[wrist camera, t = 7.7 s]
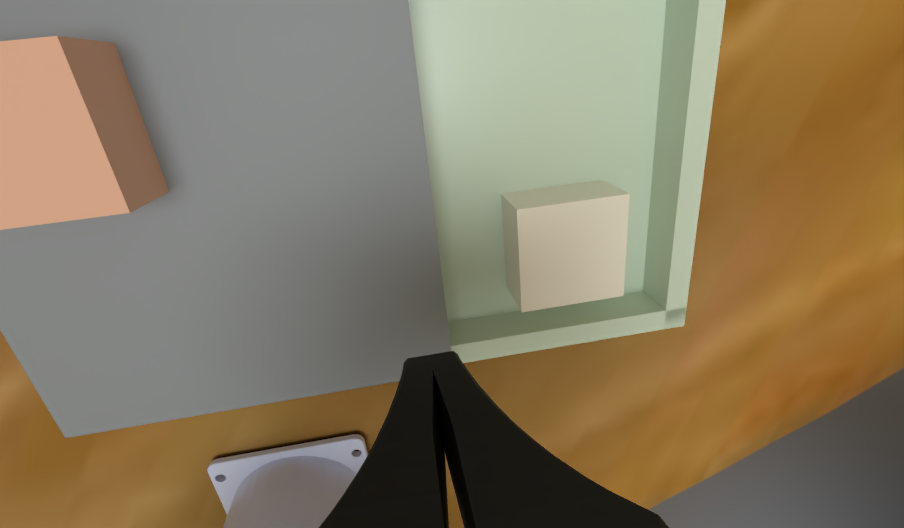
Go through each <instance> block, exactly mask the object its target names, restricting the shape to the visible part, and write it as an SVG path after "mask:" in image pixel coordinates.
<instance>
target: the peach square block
mask: <svg viewBox="0 0 904 528" xmlns="http://www.w3.org/2000/svg"><path fill="white" fill-rule="evenodd" d="M168 192H169V190H168V187H167V184H166V181H165V179H164V176H163V173H162V171H161V168H160V165H159V162H158V160H157V157H156V154H155V152H154V149H153V146H152V143H151V141H150V138H149V135H148V132H147V130H146V127H145V124H144V122H143V119H142V116H141V113H140V111H139V108H138V105H137V103H136V100H135V97H134V94H133V92H132V89H131V86H130V84H129V81H128V78H127V75H126V73H125V70H124V67H123V65H122V62H121V59H120V56H119V54H118V51H117V48H116V46H115V43H113V42H104V41H96V40H88V39H79V38H71V37H63V36H50V37H39V38H29V39H19V40H9V41H0V230H4V229H11V228H19V227H27V226H34V225H42V224H49V223H57V222H65V221H72V220H80V219H87V218H95V217H103V216H110V215H118V214H125V213H131V212H133V211H134V210H136V209H138V208H140V207H142V206H144V205H146V204H148V203H149V202H151V201H153V200H155V199H157V198H159V197H161V196H162V195H164V194H166V193H168Z"/></svg>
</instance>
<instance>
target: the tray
mask: <svg viewBox="0 0 904 528" xmlns="http://www.w3.org/2000/svg"><path fill="white" fill-rule="evenodd" d="M408 3H409V11H410V19H411V27H412V36H413V44H414V52H415V60H416V68H417V76H418V84H419V93H420V101H421V109H422V117H423V125H424V133H425V141H426V149H427V158H428V166H429V174H430V182H431V190H432V198H433V206H434V214H435V223H436V231H437V239H438V247H439V255H440V263H441V271H442V280H443V288H444V296H445V304H446V312H447V320H448V328H449V336H450V345H451V351H454V352H456V353H457V354H458V356H459V358H460V359H461V361H462V363H467V362H473V361H479V360H485V359H491V358H496V357H502V356H508V355H514V354H520V353H526V352H532V351H538V350H544V349H550V348H556V347H562V346H567V345H573V344H579V343H585V342H591V341H597V340H603V339H609V338H615V337H621V336H627V335H633V334H638V333H644V332H650V331H656V330H662V329H668V328H674V327H680V326H684V323H685V315H686V307H687V299H688V292H689V284H690V276H691V268H692V261H693V253H694V245H695V237H696V230H697V222H698V214H699V206H700V198H701V191H702V183H703V175H704V167H705V160H706V152H707V144H708V136H709V129H710V121H711V113H712V105H713V97H714V90H715V82H716V74H717V66H718V59H719V51H720V43H721V35H722V28H723V20H724V12H725V4H726V0H408ZM597 180H602V181H604V182H607V183H609V184H611V185H613V186H615V187H617V188H619V189H621V190H623V191H625V192H627V193H629V194H630V198H629V215H628V231H627V248H626V265H625V282H624V296H620V297H614V298H608V299H602V300H596V301H589V302H583V303H577V304H571V305H565V306H559V307H553V308H546V309H540V310H534V311H528V312H521V311H520V309H519V307H518V305H517V304H516V302H515V300H514V298H513V297H512V295H511V293H510V291H509V290H508V288H507V282H506V265H505V249H504V232H503V216H502V199H501V194H504V193H511V192H518V191H525V190H532V189H539V188H547V187H554V186H561V185H568V184H575V183H583V182H590V181H597Z"/></svg>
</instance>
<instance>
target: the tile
mask: <svg viewBox="0 0 904 528" xmlns="http://www.w3.org/2000/svg"><path fill="white" fill-rule="evenodd" d="M629 198H630V194H629V193H627V192H625V191H623V190H621V189H619V188H617V187H615V186H613V185H611V184H609V183H607V182H604V181H602V180H597V181H590V182H583V183H575V184H568V185H561V186H554V187H547V188H539V189H532V190H525V191H518V192H511V193H504V194H501V199H502V216H503V232H504V249H505V265H506V282H507V288H508V290H509V291H510V293H511V295H512V297H513V298H514V300H515V302H516V304H517V305H518V307H519V309H520V311H521V312H528V311H534V310H540V309H546V308H553V307H559V306H565V305H571V304H577V303H583V302H589V301H596V300H602V299H608V298H614V297H620V296H624V282H625V265H626V248H627V231H628V215H629Z"/></svg>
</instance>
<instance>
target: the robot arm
mask: <svg viewBox="0 0 904 528" xmlns="http://www.w3.org/2000/svg"><path fill="white" fill-rule="evenodd" d="M354 450H360V451H354ZM445 455H446V458H447V462H448V466H449V470H450V474H451V478H452V482H453V485H454V489H455V493H456V497H457V501H458V504H459V508H460V512H461V516H462V520H463V524H464V527H465V528H669V527H668V526H667V525H666V524H665V522H664V521H663V520H662V519H661V517H660V516H658V515H657V514H655V513H653V512H651V511H649V510H647V509H645V508H643V507H641V506H639V505H637V504H635V503H633V502H631V501H629V500H627V499H625V498H623V497H621V496H619V495H617V494H615V493H613V492H611V491H609V490H607V489H605V488H604V487H602V486H600V485H599V484H597V483H595V482H593V481H592V480H590V479H588V478H587V477H585V476H584V475H582V474H581V473H579V472H578V471H576V470H575V469H573V468H572V467H570V466H569V465H567V464H566V463H564V462H563V461H561V460H560V459H558V458H557V457H555V456H554V455H553V454H551V453H550V452H549V451H547V450H546V449H545V448H544V447H542V446H541V445H540V444H538V443H537V442H536V441H535V440H533V439H532V438H531V437H530V436H529V435H527V434H526V433H525V432H524V431H523V430H522V429H521V428H519V427H518V426H517V425H516V424H515V423H514V422H513V421H512V420H511V419H510V418H509V417H508V416H507V415H506V414H505V413H504V412H503V411H502V410H501V409H500V408H499V407H498V406H497V405H496V404H495V403H494V402H493V401H492V400H491V398H490V397H489V396H488V395H487V394H486V393H485V392H484V390H483V389H482V388H481V387H480V386H479V384H478V383H477V382H476V381H475V379H474V378H473V377H472V375H471V374H470V373H469V371H468V370H467V369H466V367H465V366H464V364H463V363H462V361H461V359H460V358H459V356H458V354H457V353H456V352H454V351H449V352H443V353H437V354H431V355H425V356H419V357H412V358H407V359H406V361H405V362H404V364H403V370H402V375H401V379H400V382H399V385H398V388H397V391H396V394H395V397H394V399H393V402H392V405H391V407H390V410H389V412H388V415H387V417H386V419H385V421H384V424H383V426H382V428H381V430H380V432H379V434H378V436H377V438H376V441H375V442H374V444H373V446H372V448H371V450H370V452H369V454H368V452H367V448H366V443H365V440H364V438H363V437H362V436H361V435H358V434H352V435H347V436H341V437H336V438H330V439H325V440H319V441H313V442H308V443H302V444H297V445H291V446H285V447H280V448H274V449H269V450H263V451H258V452H252V453H246V454H241V455H235V456H230V457H224V458H218V459H215V460H213V461H211V462H210V465H209V467H208V469H207V471H208V474H209V476H210V478H211V481H212V483H213V485H214V487H215V490H216V492H217V494H218V496H219V498H220V501H221V503H222V505H223V507H224V510H225V512H226V514H227V518H226V521H225V523H224V526H223V528H449V522H448V504H447V486H446V468H445ZM221 475H224V476H221Z"/></svg>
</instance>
